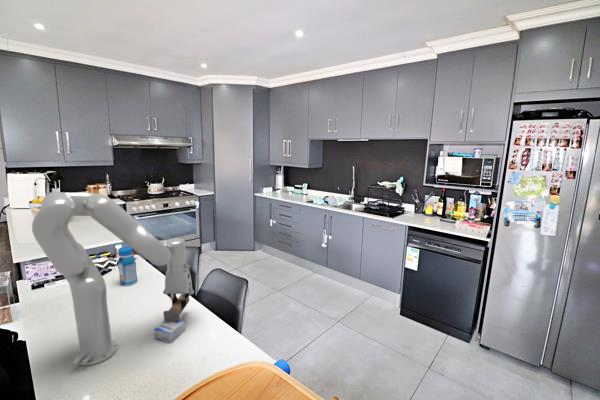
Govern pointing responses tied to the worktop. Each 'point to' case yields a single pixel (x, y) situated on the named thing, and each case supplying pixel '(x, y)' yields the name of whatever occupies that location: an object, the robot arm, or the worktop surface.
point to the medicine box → (169, 330)
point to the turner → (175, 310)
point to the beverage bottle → (127, 266)
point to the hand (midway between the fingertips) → (179, 306)
